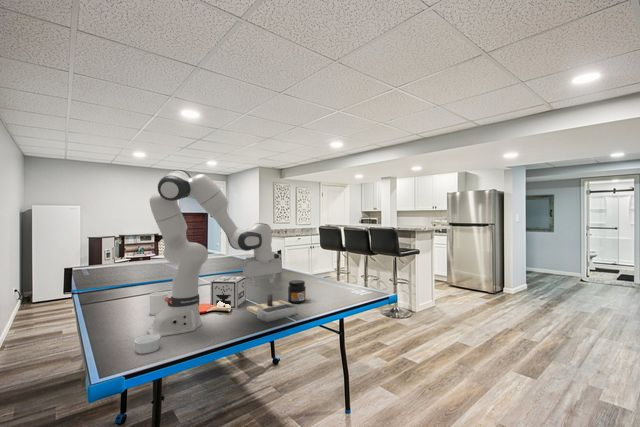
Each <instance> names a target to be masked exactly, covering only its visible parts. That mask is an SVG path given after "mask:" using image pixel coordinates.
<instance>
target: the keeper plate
mask: <svg viewBox="0 0 640 427" xmlns="http://www.w3.org/2000/svg"><path fill="white" fill-rule="evenodd" d="M266 297H267V298H266V302H265V303H259V304H256V305H250V306H246V311H248V312H250V313H252V314H255V315H257V310H258V309H263V308H267V307H272V306H276V305H281V304H285V303H288V304H291V305H293V304H292V303H290V302H288V301H285V300H282V299H279V300H273V293H272V294H271V293H269V294H267V295H266Z"/></svg>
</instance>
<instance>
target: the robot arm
mask: <svg viewBox="0 0 640 427" xmlns="http://www.w3.org/2000/svg"><path fill="white" fill-rule="evenodd" d="M189 196H191V197H192V198H194V199H195V201H197V203H198V204H199V206H201V208H202V209H203V210H204V211H205V212H206V213H207V214H208V215H209V216H210V217H211V218H212V219H214V221H215V222H216V223H217V225H218V226H219V227H220V228H221V230H222V231H223V232H224V234H225V235H226V237H227V242H228V244H229V246H230V247H231V248H232V249H234V250H237V251H238V250H239V251H244V252H248V251H252V250H253V256H250V257H246V258H244V260H243V264H242V265H243V267H242V268H243V270H242V276H244V277H246V279H248V278H249V279H250V281H251V282H252V283H251V284H252V286H253V287H255V286H257V284H258V283H257V281H255V278H256V277H261V276H269V275H271V277H270V278H269V283H270V284H272V283H274V281H275V280H274V279H275V278H276V274H279V273H282V271H283V262H282V259H281V257H282V255H281V253H276V252H273V248H272V242H273V236H272V228H271V226H270V225H269V224H267V223H264V222H262V223H261V222H256V223H254V224H253V225H252V226H251V227H249V228H246V229H244V230H243V229H242V228H240V227H238V226H237V225H236V223H235V222H234V221H233V219H232V218H231V217H230V215H229V213H228V208H229V201H228V199H227V197H226V195H225V193H224V192H223V190H221V188H220V187H219V186H218V185H217V184H216V183H215V182H214V180H212V178H210V177H209V176H207V174H205V173H204V174H203V173H201V174H200V173H199V174H198V173H197V174H195V175H194V176H192V177H191V175H190V174H189V173H188V172H187V171H185V170H182V169H174V170H171V171H169V172H168V173H166V174H165V175H164V176H163V177H162V178H160V180H159V181H158V184H157V192H155V193H154V194H152V195H151V197H150V198H149V206H150V209H151V213H152V216H153V218H154V220H155V223H156V225H157V227H158V230H159V232H160V233H161V236H162V240H163V246H164V248H163V258H164V259H165V260H166V261H168V262H169V263H171V264H173V265H177V266H178V268H177V272H176V274H175V276H174V277H173V278H172V282H171V284H172V290H171V292H172V293H171V296H170V297H169V296H168V297H166V298H165V299H164V300H165V301H166V302H168V306H167V307H165V308H164V309H163V310H162V311H161V312H159V313H158V314H157V315H154V319H153V323H152V324H153V325H151V326H149V327H148V328H147V335H150V334H158V335H160V336H161V338H162V337H166V336H167V337H168V336H173V335H179V334H185V333H191V332H194V331H195V330H196V329H198V328H199V327H201V326H202V325H203V322H202V320H201V315H200V314H201V313H200V309H199V308H200V294H199V279H200V278H199V277H200V274H201V269H202V266H203V265H204V264H205V263H206V262H207V261H208V257H209V251H208V249H207V248H206V246H204V244H203V245H202V244H200V243H198V242H193V241H189V240H188V238H187V230H188V225H187V222H186V219H185V218H184V215H183V213H182V211H181V208H180V205H179V202H178V201H179V200H182V199H185V198H188V197H189Z"/></svg>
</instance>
